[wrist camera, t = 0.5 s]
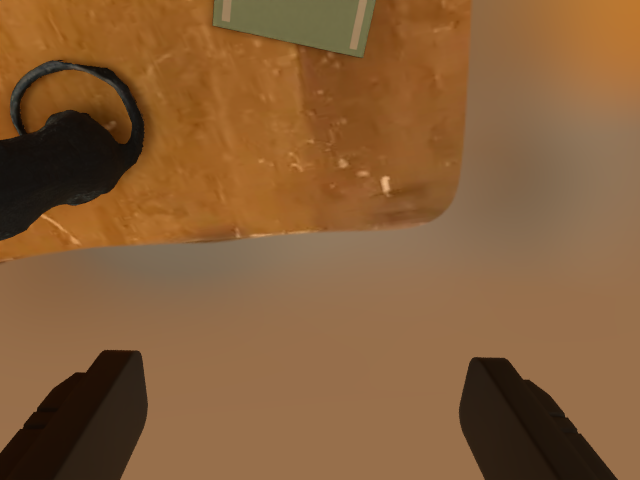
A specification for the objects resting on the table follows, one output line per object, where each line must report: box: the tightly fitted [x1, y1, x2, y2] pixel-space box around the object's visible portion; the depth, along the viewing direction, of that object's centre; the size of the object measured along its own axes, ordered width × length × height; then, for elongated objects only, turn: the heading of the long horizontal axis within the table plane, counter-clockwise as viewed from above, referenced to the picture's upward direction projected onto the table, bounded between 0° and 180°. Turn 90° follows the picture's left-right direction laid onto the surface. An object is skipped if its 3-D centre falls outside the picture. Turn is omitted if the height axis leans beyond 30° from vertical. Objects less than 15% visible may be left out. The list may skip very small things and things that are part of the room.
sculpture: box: [0, 60, 145, 241], centre depth 21 cm, size 8×11×15 cm
